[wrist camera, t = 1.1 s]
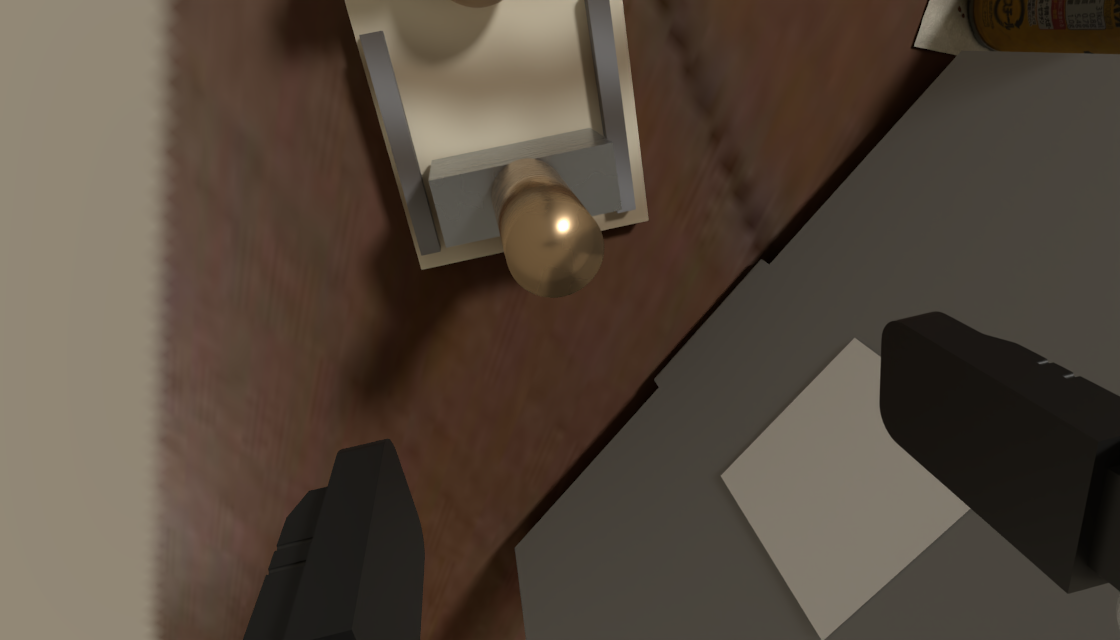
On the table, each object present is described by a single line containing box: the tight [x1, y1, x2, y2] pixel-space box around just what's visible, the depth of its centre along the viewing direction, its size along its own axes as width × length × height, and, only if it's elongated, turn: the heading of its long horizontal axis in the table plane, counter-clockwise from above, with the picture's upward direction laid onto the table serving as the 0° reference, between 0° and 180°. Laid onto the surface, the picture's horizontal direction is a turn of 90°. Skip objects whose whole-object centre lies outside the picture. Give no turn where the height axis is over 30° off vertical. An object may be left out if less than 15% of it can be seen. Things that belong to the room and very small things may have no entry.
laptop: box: [515, 51, 1120, 640], centre depth 32 cm, size 38×29×28 cm
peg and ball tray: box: [345, 0, 649, 270], centre depth 28 cm, size 18×12×7 cm
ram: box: [428, 128, 622, 298], centre depth 26 cm, size 3×8×13 cm, turn 100°
